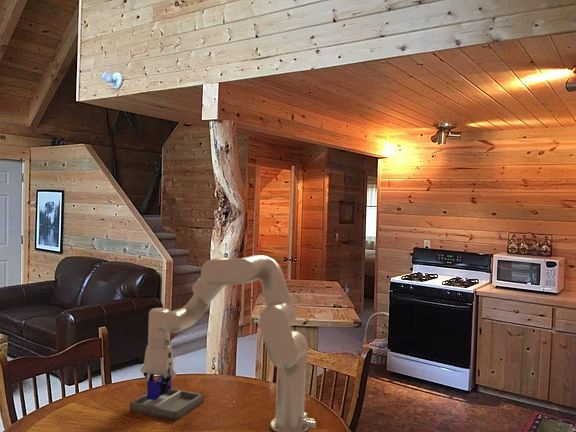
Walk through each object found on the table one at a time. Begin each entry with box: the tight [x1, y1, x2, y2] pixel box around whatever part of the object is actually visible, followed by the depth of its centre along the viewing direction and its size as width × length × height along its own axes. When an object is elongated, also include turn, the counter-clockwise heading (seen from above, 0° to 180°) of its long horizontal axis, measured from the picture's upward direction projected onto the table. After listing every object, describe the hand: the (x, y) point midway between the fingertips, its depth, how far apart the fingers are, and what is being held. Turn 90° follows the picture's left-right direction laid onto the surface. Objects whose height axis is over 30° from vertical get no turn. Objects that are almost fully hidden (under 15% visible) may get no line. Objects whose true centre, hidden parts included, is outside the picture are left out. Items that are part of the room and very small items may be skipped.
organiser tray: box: [129, 387, 205, 422], centre depth 181 cm, size 19×18×3 cm
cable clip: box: [146, 373, 172, 400], centre depth 183 cm, size 12×4×6 cm, turn 166°
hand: (157, 392), depth 183 cm, fingers closed on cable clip, 5 cm apart
